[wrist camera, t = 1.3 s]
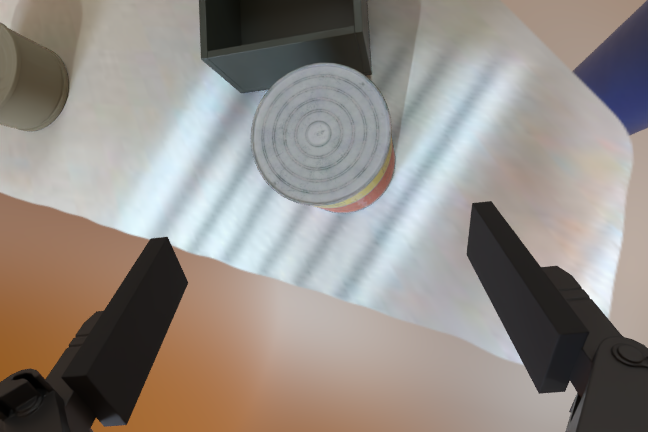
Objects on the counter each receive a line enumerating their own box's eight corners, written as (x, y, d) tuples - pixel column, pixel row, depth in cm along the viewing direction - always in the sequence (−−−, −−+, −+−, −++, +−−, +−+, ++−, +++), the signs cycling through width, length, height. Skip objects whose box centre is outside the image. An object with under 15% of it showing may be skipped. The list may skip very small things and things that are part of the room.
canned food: (325, 94, 41) (293, 39, 29) (415, 140, 39) (420, 100, 27) (276, 182, 42) (226, 163, 30) (361, 232, 39) (344, 232, 28)
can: (65, 36, 49) (12, 5, 42) (74, 122, 48) (21, 104, 41) (-5, 58, 52) (-66, 32, 45) (3, 141, 51) (-59, 127, 44)
